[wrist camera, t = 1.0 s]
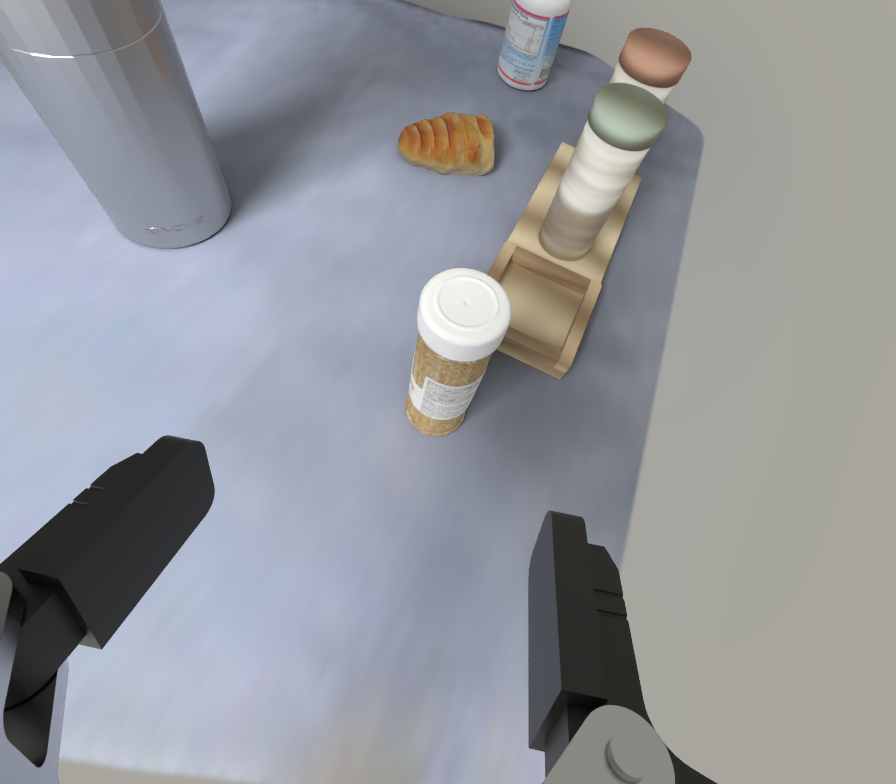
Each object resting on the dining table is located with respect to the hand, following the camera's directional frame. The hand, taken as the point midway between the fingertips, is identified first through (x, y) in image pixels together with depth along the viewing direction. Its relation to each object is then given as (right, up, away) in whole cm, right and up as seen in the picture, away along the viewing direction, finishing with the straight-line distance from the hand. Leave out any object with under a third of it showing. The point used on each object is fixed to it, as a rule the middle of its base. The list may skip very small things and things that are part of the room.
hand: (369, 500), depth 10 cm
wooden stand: (+12, +16, +32) cm, 38 cm away
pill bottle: (+10, +40, +43) cm, 59 cm away
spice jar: (+1, +1, +23) cm, 23 cm away
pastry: (+2, +26, +36) cm, 44 cm away
